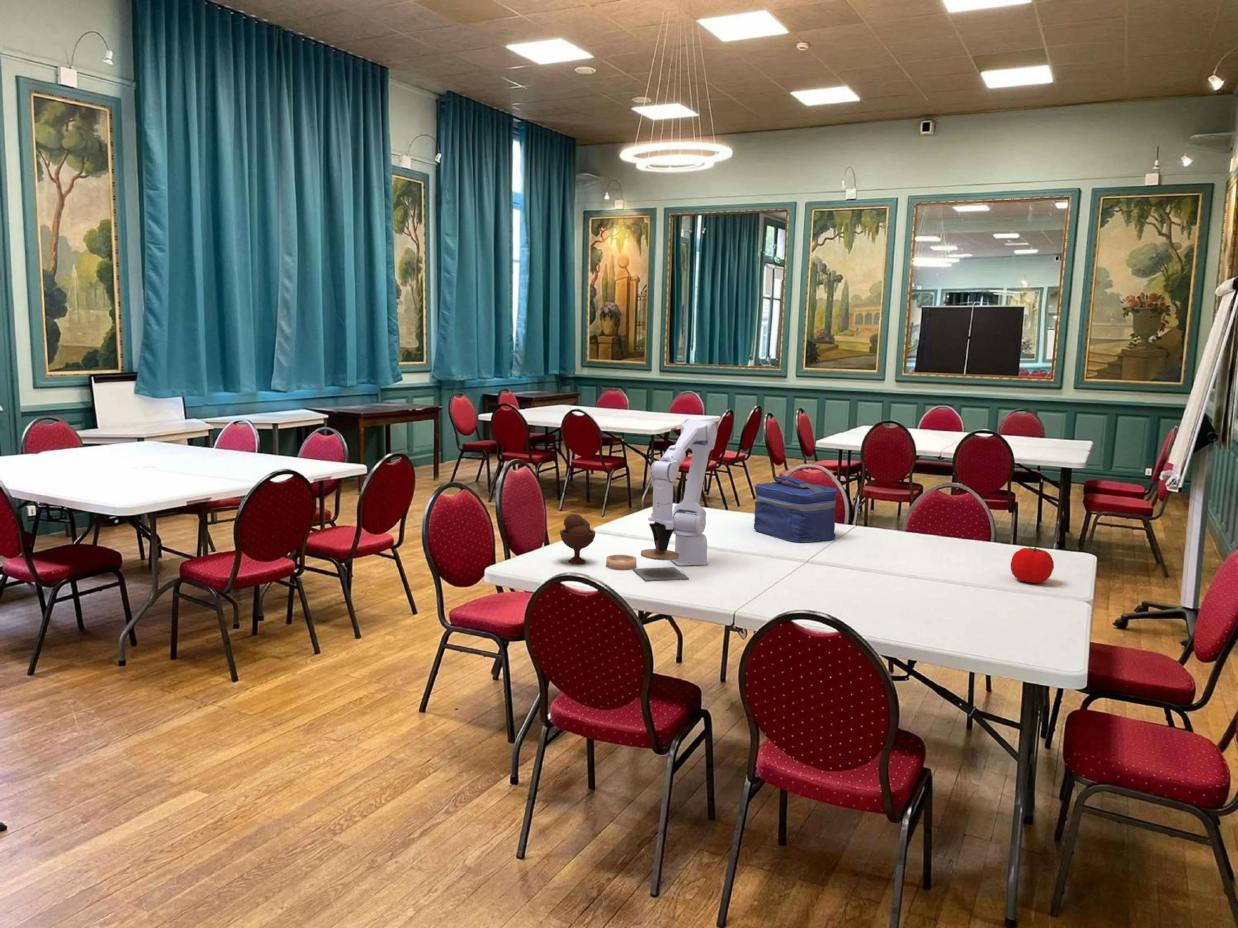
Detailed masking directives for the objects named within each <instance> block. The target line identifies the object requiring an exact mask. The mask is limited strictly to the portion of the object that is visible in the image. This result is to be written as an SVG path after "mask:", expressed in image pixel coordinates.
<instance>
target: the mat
mask: <svg viewBox="0 0 1238 928" xmlns="http://www.w3.org/2000/svg"><path fill="white" fill-rule="evenodd" d="M631 571H633V572H634V573H635V574H636V575H637V576H638V577H639V578H640V579H642V580H643V581H644V582H661V581H663V582H664V581H683V580H684V581H685V580H690V578H689V577H688V576H687V575H685V574H684V573H683V572H681V570H679V569H677V568H676V567H674V566H672V567H671V566H666V567H642V568H634V569H631Z"/></svg>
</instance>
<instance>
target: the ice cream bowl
mask: <svg viewBox="0 0 1238 928" xmlns="http://www.w3.org/2000/svg"><path fill="white" fill-rule="evenodd" d="M590 524H591V523H590V522H588V521H587V520H586V519H585V518H583V516H581V515H580V514H579V513H571V514H568V515H567V516H566V517H565V518H564V521H563V526H564V527H565V528H564V529H560V530H559V534H560V539H561V541H562V543H564V544H565V546H567V547H568V548H570V549H572V550H573V552H574V554H573V557H571V558H569V559H568V560H567V563H568V564H570V563H571V565H576V566H577V565H584V564H586V563H587V562H586V559H585V558H583V557H581V553H580V552H581V550H582V549H585V548H587V547H588V546H590V545H591V544H592V543H593V542H594V541H595V538H596V531H595V530H594V529H591V525H590Z"/></svg>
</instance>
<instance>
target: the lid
mask: <svg viewBox="0 0 1238 928" xmlns="http://www.w3.org/2000/svg"><path fill="white" fill-rule="evenodd" d="M640 556H641V557H642V558H646V559H649V560H655V561H671V560H675V559H678V558H679V554H678V553H676V552H675V550H674V551H673V550H668V549H667V551H659V547H658V540H657V541H656V547H655V548H648V549H642V550H641V551H640Z"/></svg>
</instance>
